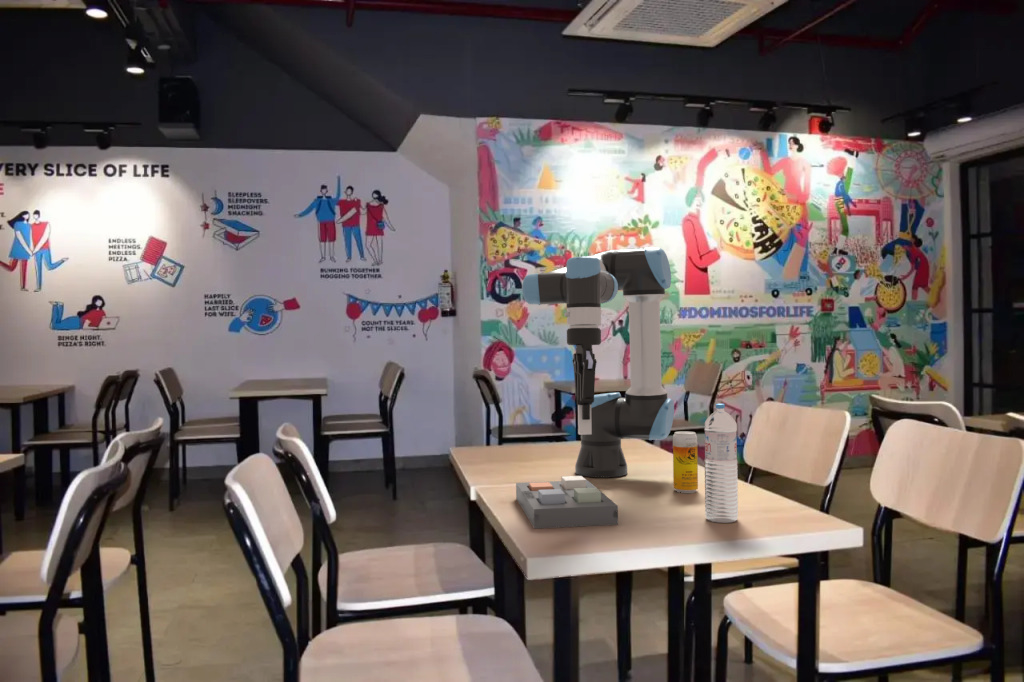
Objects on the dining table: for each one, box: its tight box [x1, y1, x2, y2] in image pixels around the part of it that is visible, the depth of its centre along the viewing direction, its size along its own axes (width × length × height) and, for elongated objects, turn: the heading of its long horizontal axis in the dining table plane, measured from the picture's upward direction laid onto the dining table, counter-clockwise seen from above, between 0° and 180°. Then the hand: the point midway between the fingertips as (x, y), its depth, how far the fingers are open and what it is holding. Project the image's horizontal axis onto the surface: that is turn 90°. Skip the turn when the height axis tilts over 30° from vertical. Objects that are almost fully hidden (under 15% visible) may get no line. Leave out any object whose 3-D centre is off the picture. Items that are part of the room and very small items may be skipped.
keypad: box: [515, 479, 619, 529], centre depth 166 cm, size 18×28×4 cm, turn 7°
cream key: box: [560, 475, 587, 490], centre depth 173 cm, size 5×5×3 cm
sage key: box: [574, 487, 602, 503], centre depth 159 cm, size 5×5×3 cm
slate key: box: [538, 489, 565, 505], centre depth 158 cm, size 5×5×3 cm
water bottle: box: [703, 403, 739, 524], centre depth 156 cm, size 7×7×25 cm
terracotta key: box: [529, 481, 553, 491], centre depth 172 cm, size 5×5×3 cm
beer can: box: [672, 430, 699, 494], centre depth 185 cm, size 6×6×15 cm
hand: (584, 434), depth 159 cm, fingers closed
